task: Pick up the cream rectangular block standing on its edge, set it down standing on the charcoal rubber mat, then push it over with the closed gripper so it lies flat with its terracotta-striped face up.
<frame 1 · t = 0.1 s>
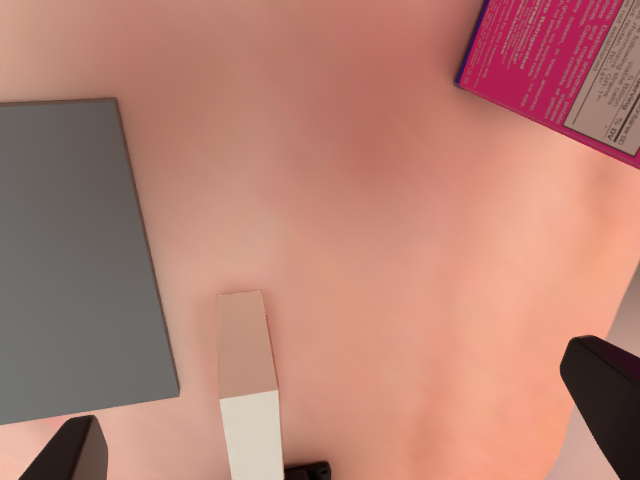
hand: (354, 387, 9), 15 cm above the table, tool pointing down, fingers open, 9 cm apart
supplement box: (526, 33, 21), on the table
cream rectangular block: (245, 352, 27), on the table
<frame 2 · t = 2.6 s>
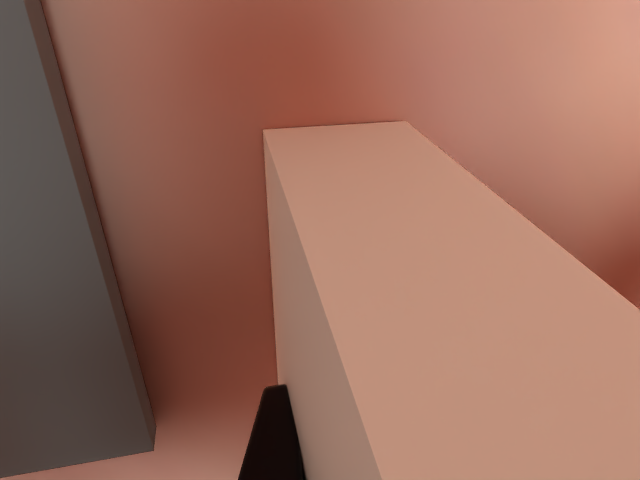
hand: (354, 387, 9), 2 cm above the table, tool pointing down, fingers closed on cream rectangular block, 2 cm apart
cream rectangular block: (331, 332, 10), on the table, touching gripper
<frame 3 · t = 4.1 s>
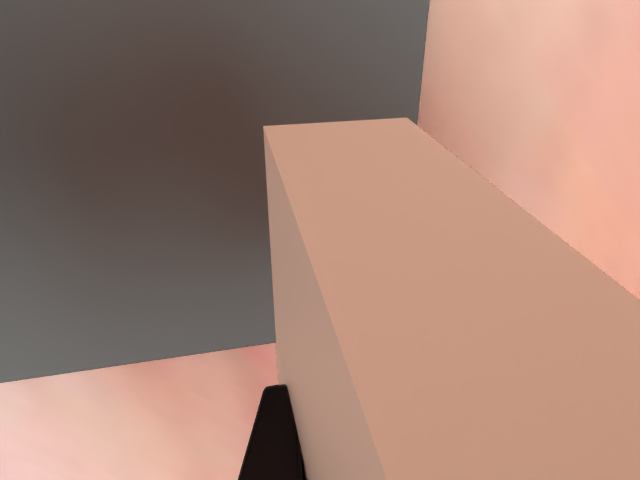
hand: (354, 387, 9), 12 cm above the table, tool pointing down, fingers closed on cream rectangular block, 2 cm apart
charcoal mat: (164, 183, 18), on the table
cream rectangular block: (332, 330, 10), point 10 cm above the table, touching gripper
when the fingers open (3 cm above the table, at t = 6.0 s): cream rectangular block stays where it is, resting on charcoal mat.
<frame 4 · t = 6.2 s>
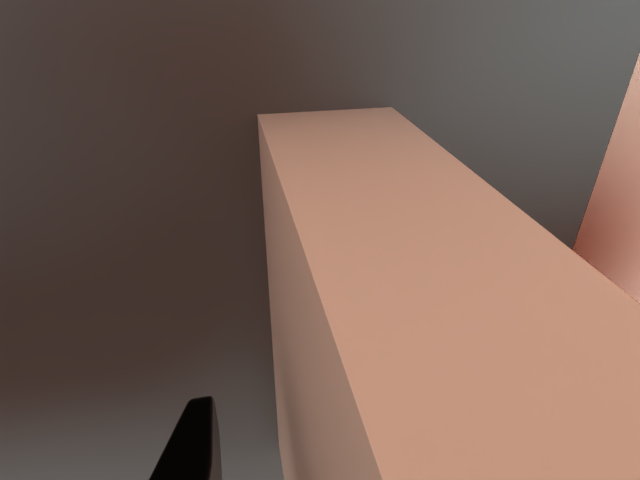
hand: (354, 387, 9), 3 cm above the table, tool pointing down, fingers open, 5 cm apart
charcoal mat: (147, 335, 10), on the table
cream rectangular block: (323, 310, 10), point 1 cm above the table, touching charcoal mat
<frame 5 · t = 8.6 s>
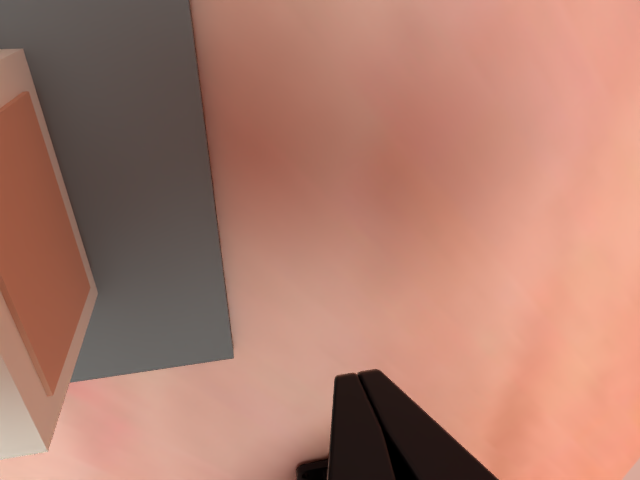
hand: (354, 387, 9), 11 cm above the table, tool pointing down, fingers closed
cream rectangular block: (27, 191, 16), point 1 cm above the table, touching charcoal mat
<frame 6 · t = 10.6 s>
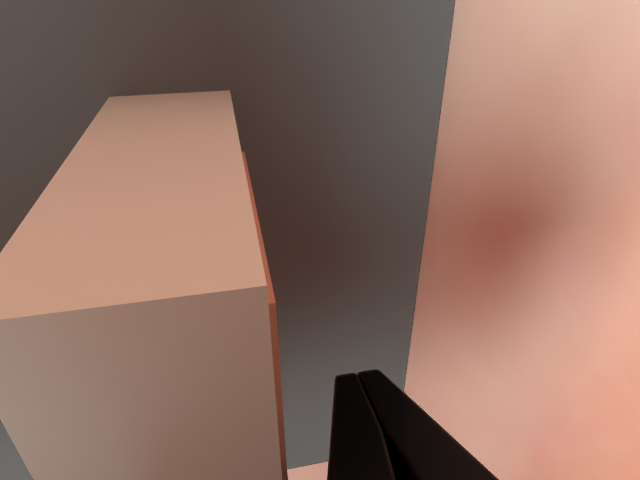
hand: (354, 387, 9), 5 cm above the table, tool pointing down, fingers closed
charcoal mat: (47, 294, 12), on the table
cream rectangular block: (200, 272, 12), point 1 cm above the table, touching charcoal mat, gripper
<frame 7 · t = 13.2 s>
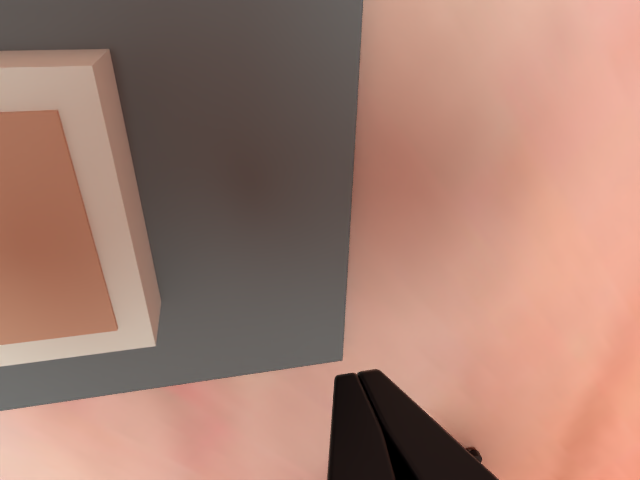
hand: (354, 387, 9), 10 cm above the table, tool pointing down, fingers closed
charcoal mat: (59, 207, 16), on the table
cream rectangular block: (134, 211, 14), point 2 cm above the table, tilted 90°, touching charcoal mat
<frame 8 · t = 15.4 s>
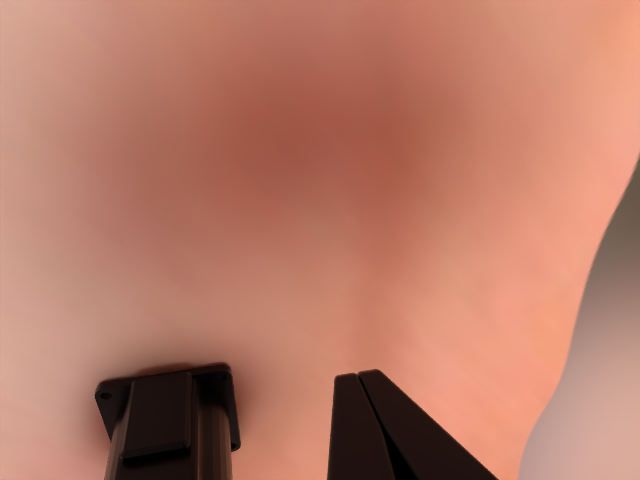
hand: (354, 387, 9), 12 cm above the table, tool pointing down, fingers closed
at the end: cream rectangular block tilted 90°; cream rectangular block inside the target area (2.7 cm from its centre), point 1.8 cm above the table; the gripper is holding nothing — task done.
